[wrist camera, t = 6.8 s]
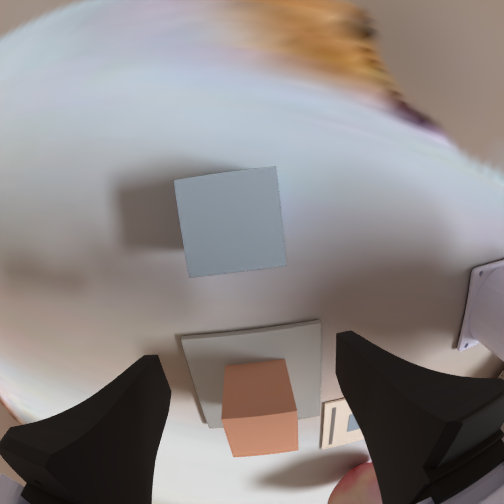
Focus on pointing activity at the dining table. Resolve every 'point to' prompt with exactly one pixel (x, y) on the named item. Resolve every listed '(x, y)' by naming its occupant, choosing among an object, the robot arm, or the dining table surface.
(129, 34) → the dining table surface
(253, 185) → the brick blue
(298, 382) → the plate
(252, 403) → the brick terracotta
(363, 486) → the decorative fruit
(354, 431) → the card
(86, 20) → the dining table surface
